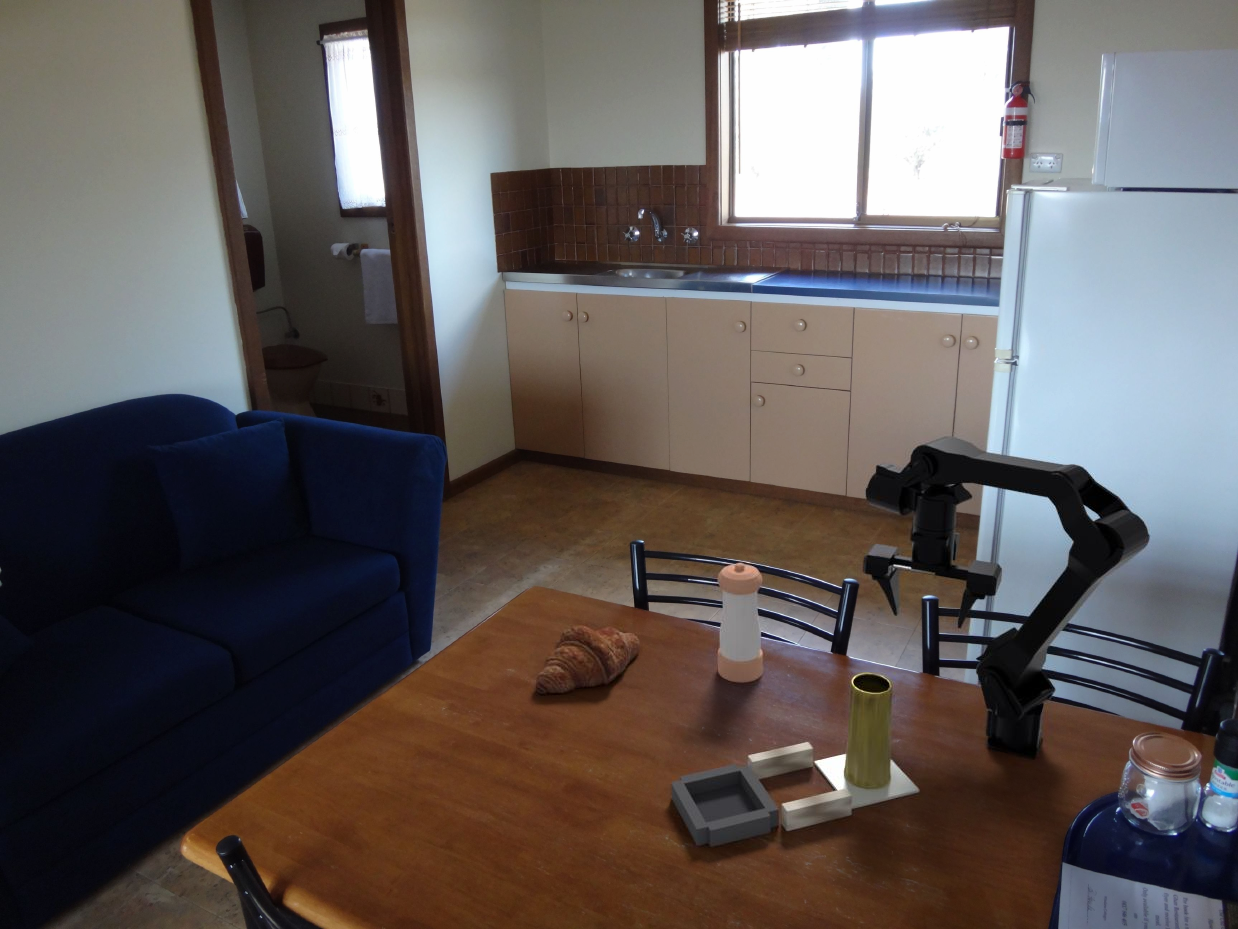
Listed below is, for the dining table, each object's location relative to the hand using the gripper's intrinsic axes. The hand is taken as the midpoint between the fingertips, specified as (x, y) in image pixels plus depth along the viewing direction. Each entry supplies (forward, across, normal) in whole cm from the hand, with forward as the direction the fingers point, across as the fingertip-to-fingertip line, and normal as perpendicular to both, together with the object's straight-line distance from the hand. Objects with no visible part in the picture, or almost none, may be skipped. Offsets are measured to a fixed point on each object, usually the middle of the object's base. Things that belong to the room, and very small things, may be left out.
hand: (927, 620), depth 141 cm
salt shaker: (+13, +28, +5) cm, 31 cm away
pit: (+13, +17, +38) cm, 43 cm away
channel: (+13, +9, +30) cm, 34 cm away
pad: (+13, +2, +23) cm, 26 cm away
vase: (+13, +2, +23) cm, 26 cm away
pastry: (+14, +50, +15) cm, 54 cm away
